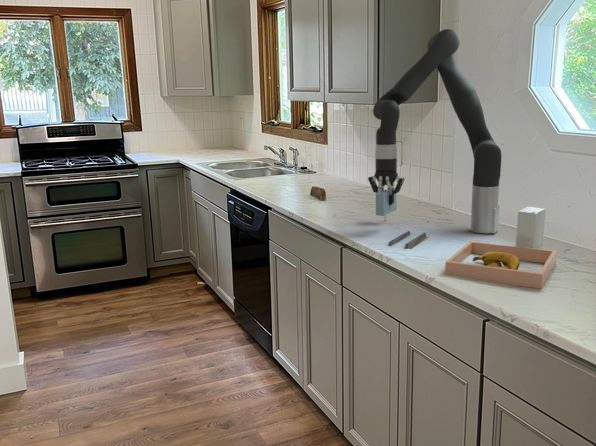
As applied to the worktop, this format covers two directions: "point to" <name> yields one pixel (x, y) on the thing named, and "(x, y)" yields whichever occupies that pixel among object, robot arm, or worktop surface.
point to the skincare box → (530, 227)
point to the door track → (412, 242)
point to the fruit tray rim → (503, 274)
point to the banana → (499, 260)
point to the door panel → (384, 203)
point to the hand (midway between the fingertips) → (386, 204)
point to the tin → (318, 193)
